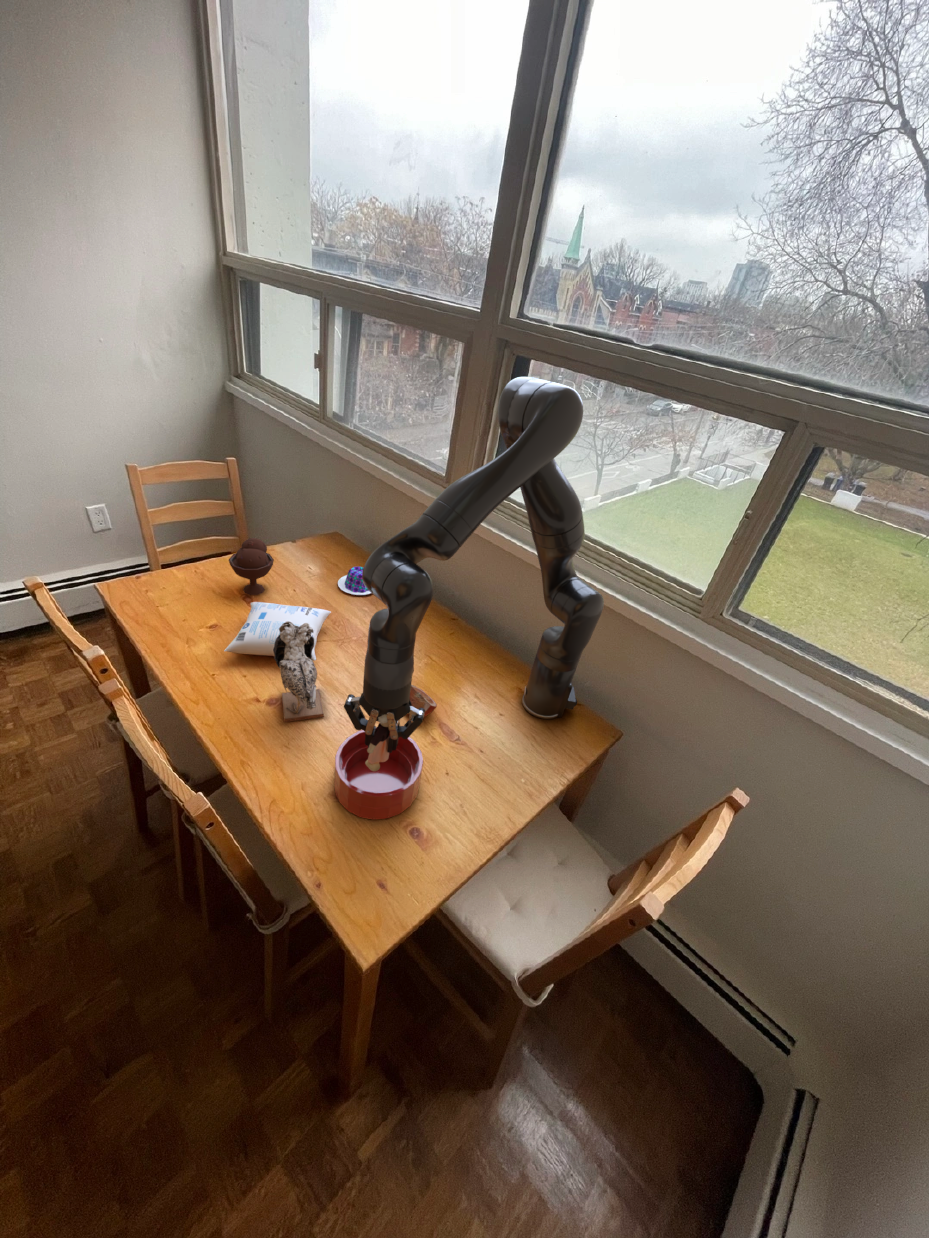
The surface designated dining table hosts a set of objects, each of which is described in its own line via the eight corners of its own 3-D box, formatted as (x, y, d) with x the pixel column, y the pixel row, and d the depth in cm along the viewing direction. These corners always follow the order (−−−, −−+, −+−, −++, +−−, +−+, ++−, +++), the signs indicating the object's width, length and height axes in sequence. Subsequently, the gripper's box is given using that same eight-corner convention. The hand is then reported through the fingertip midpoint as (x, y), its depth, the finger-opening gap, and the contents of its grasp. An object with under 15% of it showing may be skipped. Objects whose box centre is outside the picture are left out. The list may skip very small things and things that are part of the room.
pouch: (221, 635, 110) (315, 642, 112) (249, 592, 126) (331, 598, 128) (225, 664, 114) (316, 670, 116) (252, 618, 130) (331, 625, 132)
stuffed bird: (304, 671, 116) (303, 608, 107) (346, 726, 104) (349, 662, 95) (260, 685, 110) (255, 620, 101) (300, 746, 99) (298, 679, 89)
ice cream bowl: (232, 580, 142) (227, 531, 134) (275, 579, 146) (272, 532, 137) (230, 601, 134) (224, 550, 126) (275, 599, 138) (272, 550, 129)
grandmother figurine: (381, 778, 87) (393, 728, 80) (359, 772, 87) (370, 721, 80) (393, 745, 94) (406, 697, 87) (373, 739, 94) (384, 690, 87)
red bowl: (424, 759, 101) (428, 735, 97) (410, 828, 88) (414, 803, 84) (348, 745, 101) (349, 720, 97) (322, 812, 88) (322, 786, 84)
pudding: (387, 586, 152) (388, 571, 149) (360, 601, 143) (361, 586, 140) (356, 571, 157) (357, 556, 154) (328, 585, 148) (329, 569, 145)
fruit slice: (394, 703, 112) (396, 687, 109) (419, 693, 116) (421, 676, 113) (416, 727, 107) (419, 710, 105) (441, 716, 111) (444, 699, 109)
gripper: (337, 679, 76) (335, 756, 86) (428, 696, 76) (416, 771, 86) (351, 649, 82) (347, 724, 92) (436, 665, 82) (423, 738, 92)
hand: (381, 746), depth 89 cm, fingers closed on grandmother figurine, 3 cm apart
